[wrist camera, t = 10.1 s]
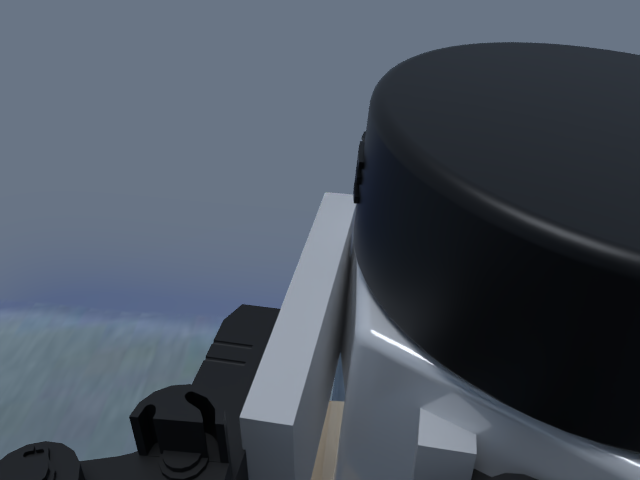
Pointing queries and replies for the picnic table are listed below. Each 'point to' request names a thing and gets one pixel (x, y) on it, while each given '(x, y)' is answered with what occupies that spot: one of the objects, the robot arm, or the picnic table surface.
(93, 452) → the picnic table surface
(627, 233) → the jar
